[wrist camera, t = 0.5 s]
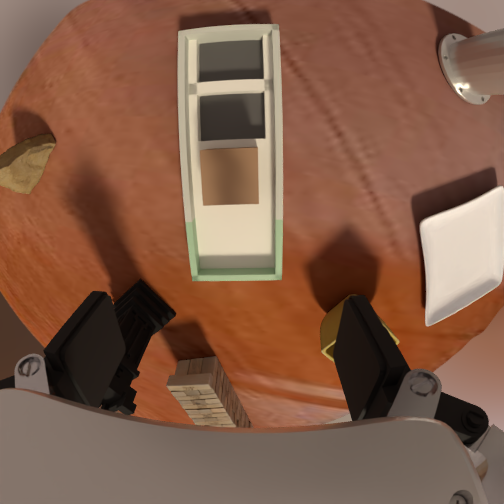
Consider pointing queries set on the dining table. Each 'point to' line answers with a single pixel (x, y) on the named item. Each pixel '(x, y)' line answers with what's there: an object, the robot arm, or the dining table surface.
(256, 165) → the walnut block
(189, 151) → the tray
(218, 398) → the block tower
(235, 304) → the dining table surface
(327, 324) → the flower pot
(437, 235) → the salad plate
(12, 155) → the rock
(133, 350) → the chess piece
